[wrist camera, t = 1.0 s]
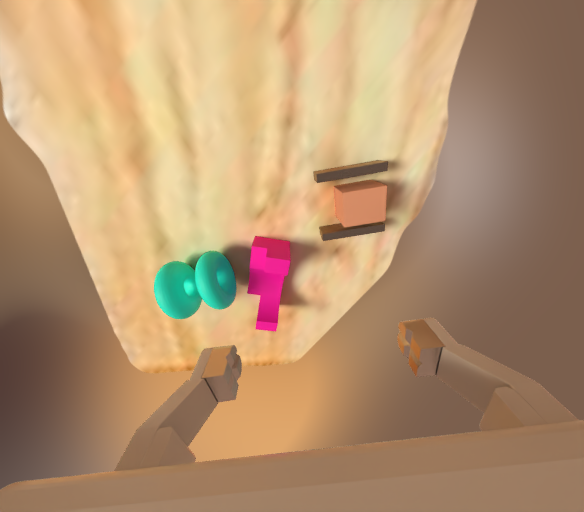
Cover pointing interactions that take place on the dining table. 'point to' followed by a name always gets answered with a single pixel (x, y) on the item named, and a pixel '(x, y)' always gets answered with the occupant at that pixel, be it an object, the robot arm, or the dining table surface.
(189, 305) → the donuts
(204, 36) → the dining table surface
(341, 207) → the terracotta block
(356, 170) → the guide channel
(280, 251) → the toy block
